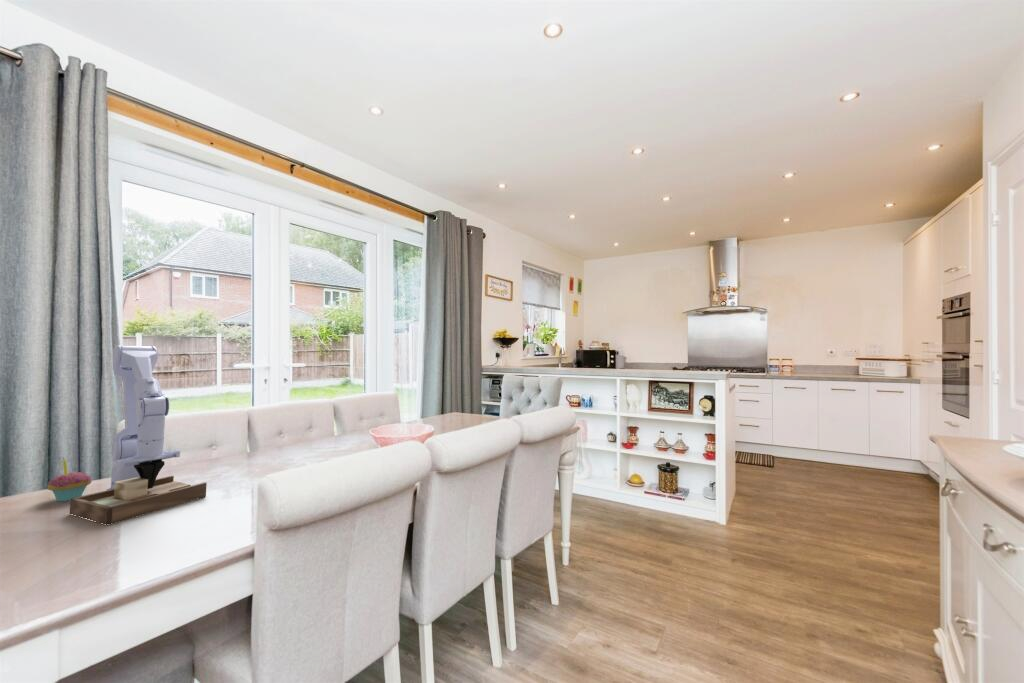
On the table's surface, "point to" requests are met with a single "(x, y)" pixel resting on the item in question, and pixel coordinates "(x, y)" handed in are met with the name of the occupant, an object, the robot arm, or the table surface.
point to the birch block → (130, 488)
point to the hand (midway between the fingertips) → (147, 488)
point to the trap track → (135, 501)
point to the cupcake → (69, 484)
